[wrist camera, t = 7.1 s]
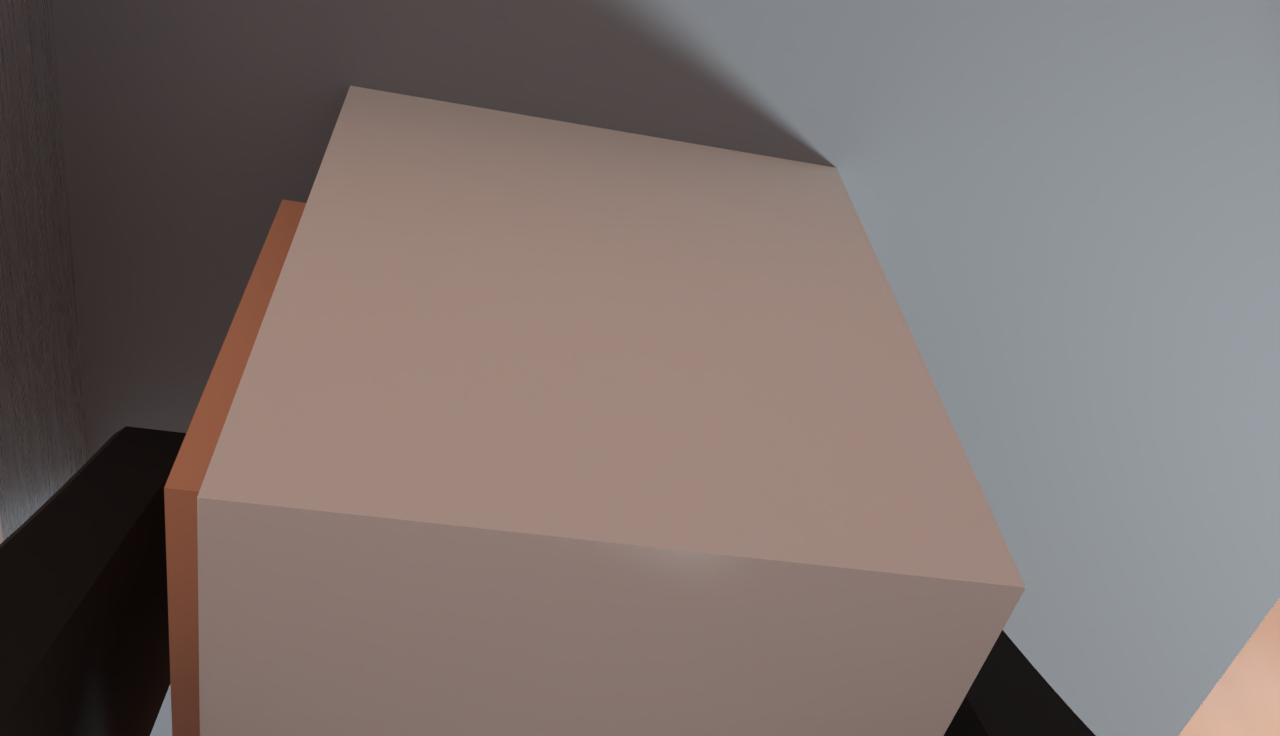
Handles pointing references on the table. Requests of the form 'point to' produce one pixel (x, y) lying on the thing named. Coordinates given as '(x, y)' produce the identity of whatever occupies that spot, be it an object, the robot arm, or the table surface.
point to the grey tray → (771, 126)
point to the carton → (571, 455)
